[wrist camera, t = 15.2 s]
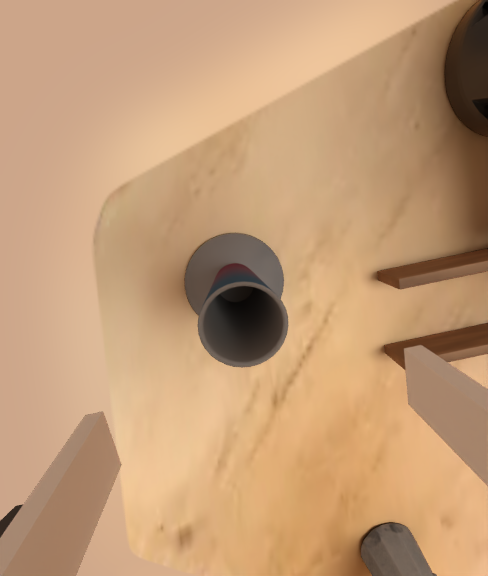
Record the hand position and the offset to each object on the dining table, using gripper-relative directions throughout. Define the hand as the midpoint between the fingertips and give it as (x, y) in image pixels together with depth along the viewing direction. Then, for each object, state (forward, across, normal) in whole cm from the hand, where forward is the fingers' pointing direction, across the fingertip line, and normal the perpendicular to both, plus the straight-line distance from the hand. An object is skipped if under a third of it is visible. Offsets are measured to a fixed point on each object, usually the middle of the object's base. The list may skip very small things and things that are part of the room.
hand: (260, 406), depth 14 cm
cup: (+26, 0, 0) cm, 26 cm away
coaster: (+26, 0, 0) cm, 26 cm away
